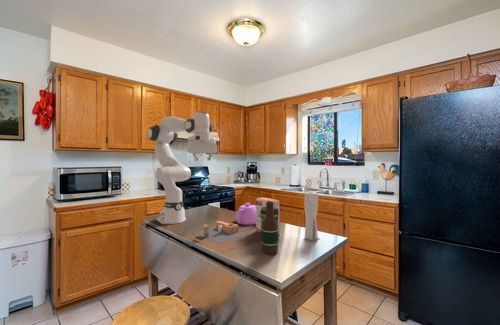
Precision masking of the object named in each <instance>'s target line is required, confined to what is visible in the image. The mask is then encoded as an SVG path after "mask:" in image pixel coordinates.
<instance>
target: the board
mask: <svg viewBox="0 0 500 325" xmlns="http://www.w3.org/2000/svg"><path fill="white" fill-rule="evenodd" d="M192 234H194V235H196V236H197V237H198V236H199V237H201V238H203V239H206V240H209V241H212V242H214V243H217V244H221V243H224V242H226V241H230V240H233V239H235V238H238V237H241V236H244V235H248V234H247V232H243V231H239V232H236V233H233V234H229V233H226V232H224V231H223V230H222V234H220V235H219V234H218V229H217V228H216V226H214V227H210V228H209V237H204V229H202V230H199V231H195V232H192Z"/></svg>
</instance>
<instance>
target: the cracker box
mask: <svg viewBox="0 0 500 325" xmlns="http://www.w3.org/2000/svg"><path fill="white" fill-rule="evenodd" d="M269 201H270V202H273V203H274V204H273V208H277V209H278V212H279V216H278V233H279V237H280V234H281V231H280V230H281V229H280V228H281V224H280V223H281V220H280V214H281V212H280V207H281V206H280V204H281V202H280V200H278V199H274V198H268V197H263V196H262V197H257V198H256V199H255V206H256V224H255V230H256V232H258V233H260V234H261V208H262V207H266V206H267V205H266V202H269Z"/></svg>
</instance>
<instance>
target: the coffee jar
mask: <svg viewBox="0 0 500 325" xmlns="http://www.w3.org/2000/svg"><path fill="white" fill-rule="evenodd" d="M266 207H267V206H266ZM266 207H262V208H261V233H260V241H261V242H262V225H263V222H264V220H265V219H266ZM273 209H274V219H275V220H276V222H277V224H278V216H279V212H278V209H277V208H273ZM278 242H280V236H279V233H278Z"/></svg>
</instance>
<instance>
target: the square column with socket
mask: <svg viewBox="0 0 500 325" xmlns="http://www.w3.org/2000/svg"><path fill="white" fill-rule="evenodd" d="M218 225H222V230H223V231H224V232H226V233H229V234H233V233H236V232H239V229H240V227H239V225H240V224H236V223H229V222H225V221H222V220H217V221H215V227H216V228H217V229H218Z"/></svg>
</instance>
